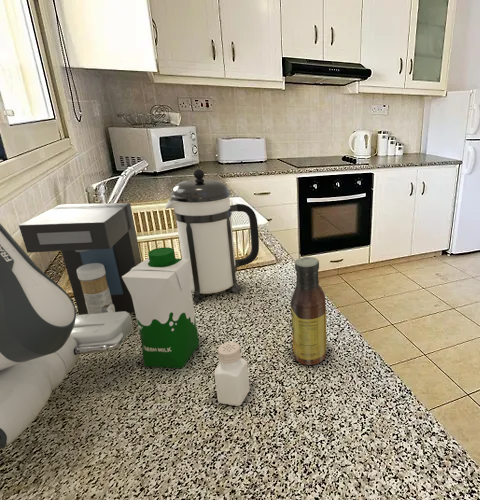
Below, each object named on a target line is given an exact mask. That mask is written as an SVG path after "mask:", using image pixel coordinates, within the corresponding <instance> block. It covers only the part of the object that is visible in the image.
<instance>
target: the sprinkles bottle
mask: <svg viewBox="0 0 480 500" xmlns="http://www.w3.org/2000/svg"><path fill="white" fill-rule="evenodd" d="M76 271H77V276H78V279H79V280H80V282H81V286H82V290H83V294H84V298H85V303H86V307H87V310H88V314H97V313H103V312H102V308H103V307H104V305H112V304H113V303H112V299H111V295H110V291H109V287H108V284H107V281H106V277H105V276H106V274H105V273H106V272H105V268H104V265H103V264H100V263H91V264H86V265H83V266H81V267H79V268H78V269H77V270H76Z"/></svg>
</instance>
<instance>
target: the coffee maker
mask: <svg viewBox="0 0 480 500" xmlns="http://www.w3.org/2000/svg"><path fill="white" fill-rule="evenodd" d="M18 228H19V230H20V234H21V237H22V241H23V243H24V247H25V250H26V254H28V253H49V252H50V253H51V252H61V255H62V258H63V262H64V265H65V269H66V273H67V276H68V279H69V283H70V287H71V291H72V294H73V297H74V301H75V306H76V310H77V311H78V315H84V314H88V310H87V307H86V303H85V298H84V294H83V290H82V286H81V282H80V280H79V279H78V276H77V271H76V270H77V269H78V268H79V267H81V266H83V265H86V264H91V263H100V264H103V265H104V268H105V272H106V273H105V274H106V276H105V277H106V281H107V284H108V287H109V291H110V295H111V299H112V303H113V305H114V307H115V312H123V311H125V312H128V313H129V314H131V313H132V314H133V313H135V309H134V305H133V300H132V296H131V294H130V292H129V290H128V288H127V286H126V284H125V282H124V280H123V279H122V276H124V275H125V274H126V273H128V272H129V271H130V270H131V269H132V268H133V267H135V266H137V265H138V264H140V263H141V262H143V261H142V256H141V251H140V246H139V241H138V240H139V239H138V236H137V231H136V226H135V220H134V216H133V211H132V205H131V202H106V203H105V202H101V203H65V204H62V203H61V204H58V205H56V206H53V207H52V208H50V209H48V210H46V211H45V212H43V213H41V214H39V215H36V216H35V217H33V218H30V219H28V220H27V221H25V222H23V223H20V224H19V225H18Z"/></svg>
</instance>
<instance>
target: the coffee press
mask: <svg viewBox="0 0 480 500" xmlns="http://www.w3.org/2000/svg"><path fill="white" fill-rule="evenodd" d="M193 177H194V179H193V178H192V179H188V180H183V181H180V182H178V183H177V184H175V185H174V186H173V188H172V191H171V192H170V194H169V196H170V198H168V200H167V201H166V205H165V207H164V208H165V209H166V210H168V209H173V215H174V220H175V221H176V228H177V235H178V241H179V248H180V255H181V259H188V260H189V271H190V285H191V292H193V296H192V299H193V303H198V304H199V303H201V302H202V300H203V298H204V296H205V294H209V295H210V294H216V293H220V292H224V291H226V290H228V289H230V291H232V292H233V293H234V294H235V295H237V294H239V293H240V292H241V291H242V287H241V286H240V285H239V283H238V281H237V279H238V277H237V272H238V268H239V267H244V266H246V265H249V264H251V263H253V262H254V261H255V260H256V259H257V258H258V255H259V253H260V252H259V250H260V237H259V225H258V224H259V223H258V219H257V218H258V217H257V215H256V213H255V211H254V210H253V208H252V207H250V206H248V205H247V204H243V203H236V204H231V203H230V202H231V201H230V198H231V196H232V195H231V194H232V193H231V190H230V189H229V188H228V186H227V184H225V183H224V182H222V181H221V180H219V179H213V178H205V172H204V171H203V170H202V169H200V168H198V169H195V170H194V171H193ZM233 212H243V213H245V214H246V215H247V217H248V220H249V221H248V222H249V232H250V243H251V244H250V245H251V249H250V253H249V254H248V255H247V256H245V257H243V258H238V259H236V254H235V243H234V234H233V224H232V223H233V221H232V215H233Z"/></svg>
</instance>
